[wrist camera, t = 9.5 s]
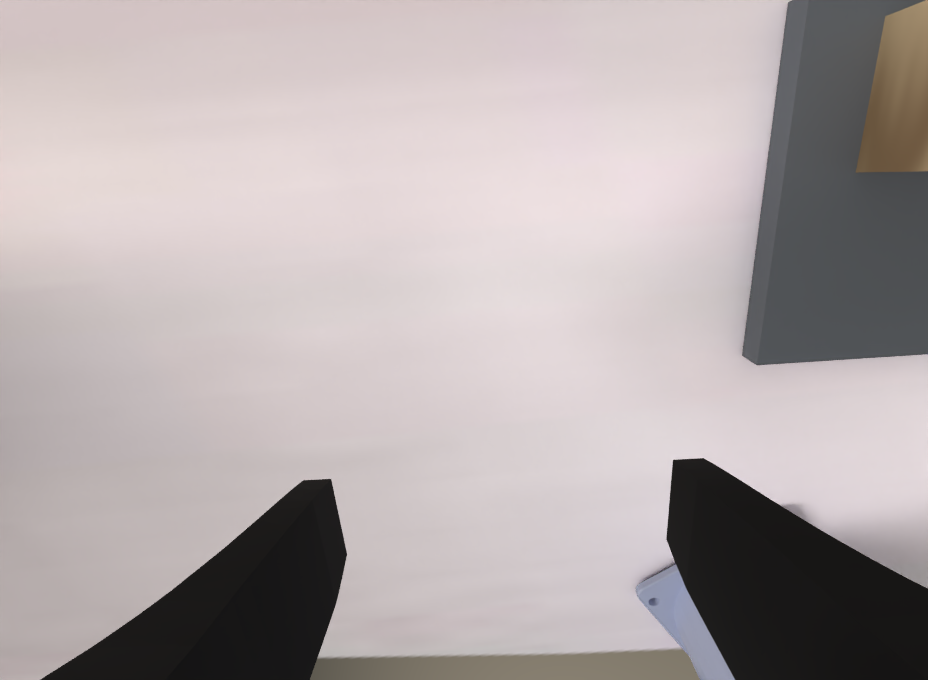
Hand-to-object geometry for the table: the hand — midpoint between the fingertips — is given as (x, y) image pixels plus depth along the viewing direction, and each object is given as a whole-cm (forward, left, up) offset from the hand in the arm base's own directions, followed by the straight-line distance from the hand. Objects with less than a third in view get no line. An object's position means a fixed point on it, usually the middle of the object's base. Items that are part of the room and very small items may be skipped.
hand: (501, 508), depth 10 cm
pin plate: (-4, -15, -9) cm, 18 cm away
